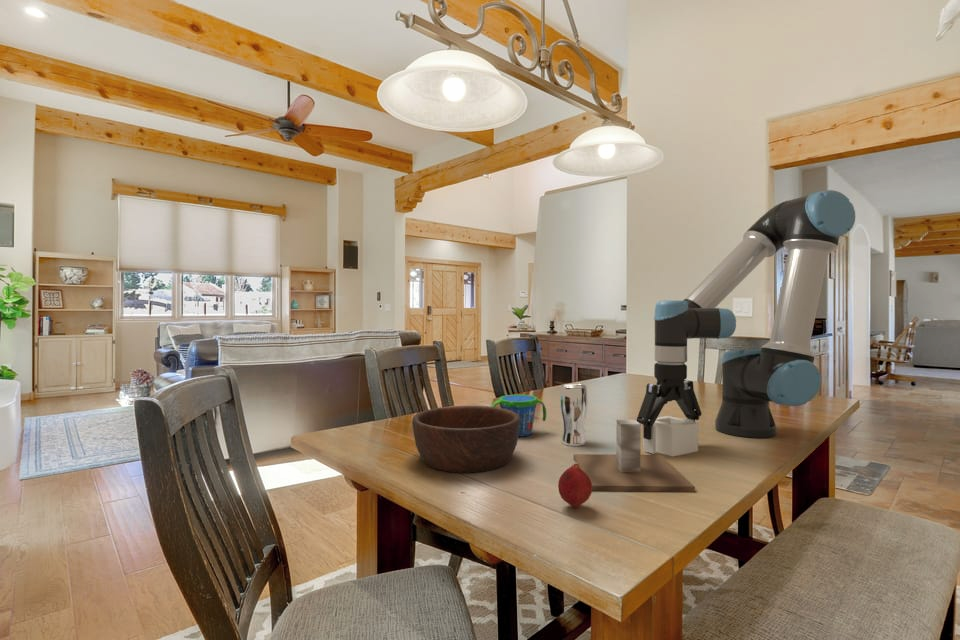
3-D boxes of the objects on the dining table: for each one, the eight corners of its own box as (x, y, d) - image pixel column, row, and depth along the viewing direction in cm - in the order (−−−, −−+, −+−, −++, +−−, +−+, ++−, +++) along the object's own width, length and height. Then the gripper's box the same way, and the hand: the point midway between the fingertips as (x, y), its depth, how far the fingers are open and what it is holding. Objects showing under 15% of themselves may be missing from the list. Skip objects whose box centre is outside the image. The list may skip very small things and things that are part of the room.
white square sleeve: (668, 442, 127) (668, 415, 127) (698, 451, 119) (698, 422, 119) (643, 447, 123) (643, 419, 123) (672, 456, 115) (672, 427, 115)
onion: (570, 516, 82) (570, 469, 82) (552, 504, 88) (552, 460, 88) (598, 510, 85) (598, 465, 85) (579, 499, 90) (579, 456, 90)
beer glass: (585, 439, 130) (585, 383, 130) (589, 447, 123) (589, 387, 123) (559, 439, 131) (559, 383, 130) (561, 446, 124) (561, 387, 123)
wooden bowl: (468, 487, 96) (467, 435, 96) (390, 461, 113) (389, 416, 113) (541, 458, 115) (541, 414, 115) (465, 439, 132) (465, 401, 131)
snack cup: (490, 439, 131) (490, 401, 131) (490, 429, 142) (490, 394, 142) (548, 438, 131) (548, 401, 131) (544, 429, 142) (544, 394, 141)
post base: (660, 459, 113) (660, 411, 113) (694, 491, 93) (695, 434, 93) (573, 458, 114) (573, 411, 114) (589, 490, 94) (589, 433, 94)
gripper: (692, 358, 130) (691, 438, 130) (621, 364, 118) (621, 451, 119) (717, 361, 123) (716, 445, 124) (645, 367, 111) (644, 459, 112)
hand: (669, 448), depth 121 cm, fingers open, 13 cm apart
